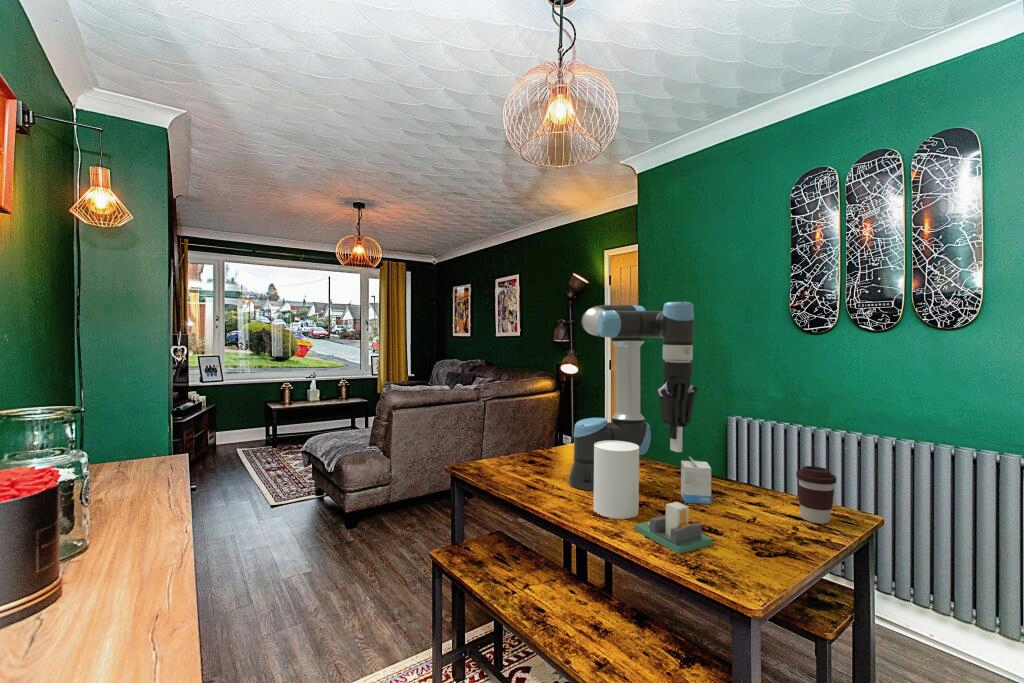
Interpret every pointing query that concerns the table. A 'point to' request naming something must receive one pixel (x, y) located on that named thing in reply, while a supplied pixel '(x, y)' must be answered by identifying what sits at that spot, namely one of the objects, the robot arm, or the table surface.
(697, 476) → the ink box
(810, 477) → the coffee cup
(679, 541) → the board
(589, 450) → the robot arm
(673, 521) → the plug
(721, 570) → the table surface
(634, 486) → the canister
